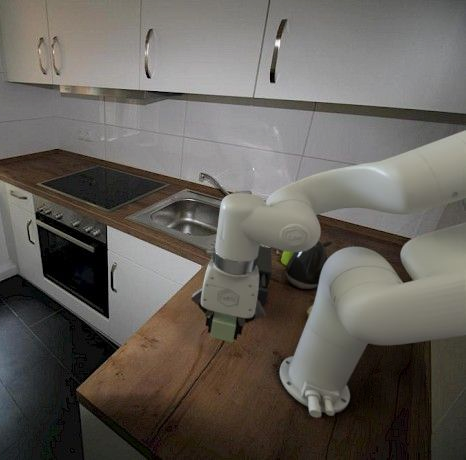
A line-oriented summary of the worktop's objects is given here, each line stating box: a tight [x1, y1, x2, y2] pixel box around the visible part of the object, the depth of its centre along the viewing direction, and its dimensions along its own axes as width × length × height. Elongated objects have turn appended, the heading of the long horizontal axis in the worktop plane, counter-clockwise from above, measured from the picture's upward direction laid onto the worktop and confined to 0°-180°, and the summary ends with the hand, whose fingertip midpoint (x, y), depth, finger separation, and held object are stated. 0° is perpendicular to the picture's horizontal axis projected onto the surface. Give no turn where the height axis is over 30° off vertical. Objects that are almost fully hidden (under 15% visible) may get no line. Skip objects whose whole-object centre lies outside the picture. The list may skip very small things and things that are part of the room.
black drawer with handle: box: [257, 273, 270, 309], centre depth 85 cm, size 17×11×8 cm, turn 158°
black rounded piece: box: [285, 239, 333, 290], centre depth 91 cm, size 10×10×15 cm
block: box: [209, 311, 237, 343], centre depth 66 cm, size 4×4×4 cm
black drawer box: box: [256, 245, 273, 289], centre depth 93 cm, size 14×12×10 cm
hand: (222, 331), depth 67 cm, fingers closed on block, 4 cm apart
